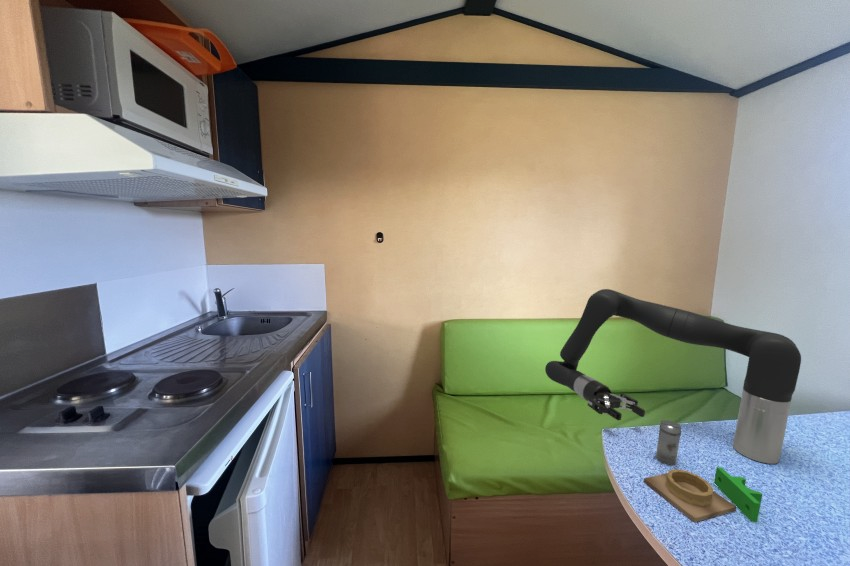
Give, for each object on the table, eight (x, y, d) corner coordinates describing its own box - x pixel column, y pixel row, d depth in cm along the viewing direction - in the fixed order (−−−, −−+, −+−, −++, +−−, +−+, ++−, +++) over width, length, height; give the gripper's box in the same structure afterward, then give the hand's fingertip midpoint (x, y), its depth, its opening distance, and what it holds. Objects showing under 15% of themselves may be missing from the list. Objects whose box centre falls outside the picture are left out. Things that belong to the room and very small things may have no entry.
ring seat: (681, 473, 86) (683, 460, 86) (735, 510, 75) (738, 496, 75) (643, 482, 83) (645, 468, 83) (694, 522, 72) (696, 507, 71)
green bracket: (770, 524, 72) (774, 505, 71) (750, 522, 72) (754, 503, 72) (730, 485, 83) (733, 468, 82) (713, 483, 83) (716, 466, 83)
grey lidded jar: (664, 453, 94) (669, 419, 93) (680, 464, 90) (686, 428, 88) (651, 455, 93) (655, 421, 92) (667, 467, 89) (672, 430, 87)
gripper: (574, 381, 114) (614, 406, 99) (610, 377, 118) (653, 400, 103) (572, 403, 115) (611, 430, 100) (607, 398, 119) (649, 424, 104)
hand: (632, 415), depth 101 cm, fingers open, 8 cm apart
